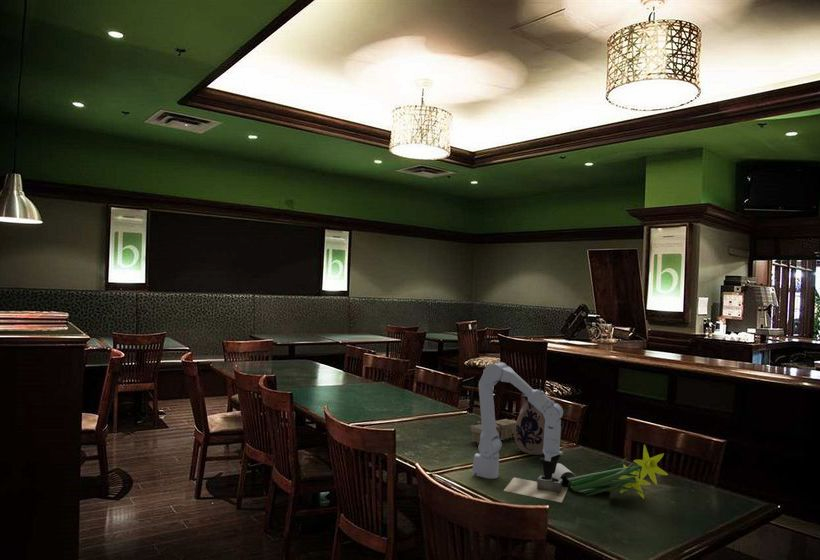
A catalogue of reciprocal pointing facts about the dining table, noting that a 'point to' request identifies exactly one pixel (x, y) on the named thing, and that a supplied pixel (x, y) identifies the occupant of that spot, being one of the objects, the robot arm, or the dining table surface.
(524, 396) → the ceramic pitcher
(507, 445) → the dining table surface
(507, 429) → the tan block
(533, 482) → the birch board
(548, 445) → the robot arm
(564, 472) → the mug
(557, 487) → the dark grey open box
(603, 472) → the daffodil flowers
